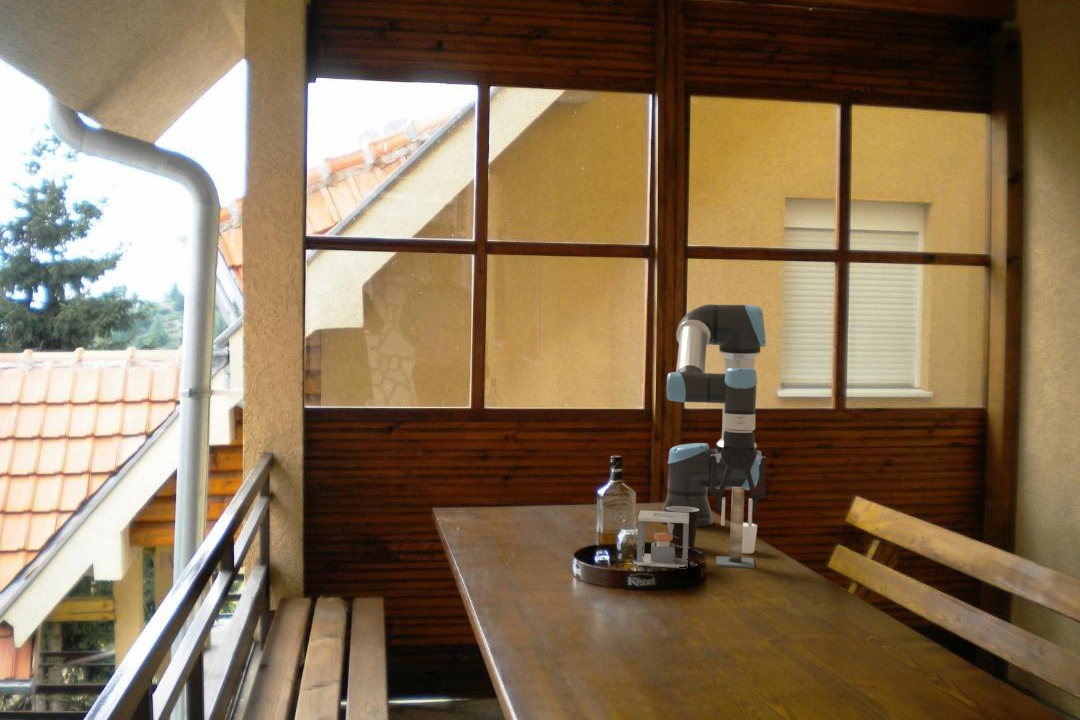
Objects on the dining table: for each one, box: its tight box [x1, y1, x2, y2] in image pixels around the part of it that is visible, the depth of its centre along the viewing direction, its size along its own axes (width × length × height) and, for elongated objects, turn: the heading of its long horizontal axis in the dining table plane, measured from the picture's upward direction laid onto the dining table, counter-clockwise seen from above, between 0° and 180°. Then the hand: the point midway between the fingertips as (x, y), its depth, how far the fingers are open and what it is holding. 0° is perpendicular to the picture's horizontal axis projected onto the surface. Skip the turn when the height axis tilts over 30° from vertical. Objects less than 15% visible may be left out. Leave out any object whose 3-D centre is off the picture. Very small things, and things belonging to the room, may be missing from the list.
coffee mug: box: [666, 506, 699, 549], centre depth 272 cm, size 12×9×10 cm
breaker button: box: [653, 532, 673, 547], centre depth 252 cm, size 4×4×6 cm
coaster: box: [715, 555, 756, 569], centre depth 253 cm, size 9×9×1 cm
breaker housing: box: [636, 509, 689, 569], centre depth 252 cm, size 10×12×12 cm
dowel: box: [728, 487, 746, 562], centre depth 253 cm, size 3×3×18 cm
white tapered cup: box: [730, 521, 758, 554], centre depth 268 cm, size 7×7×7 cm
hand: (736, 525), depth 253 cm, fingers open, 6 cm apart
